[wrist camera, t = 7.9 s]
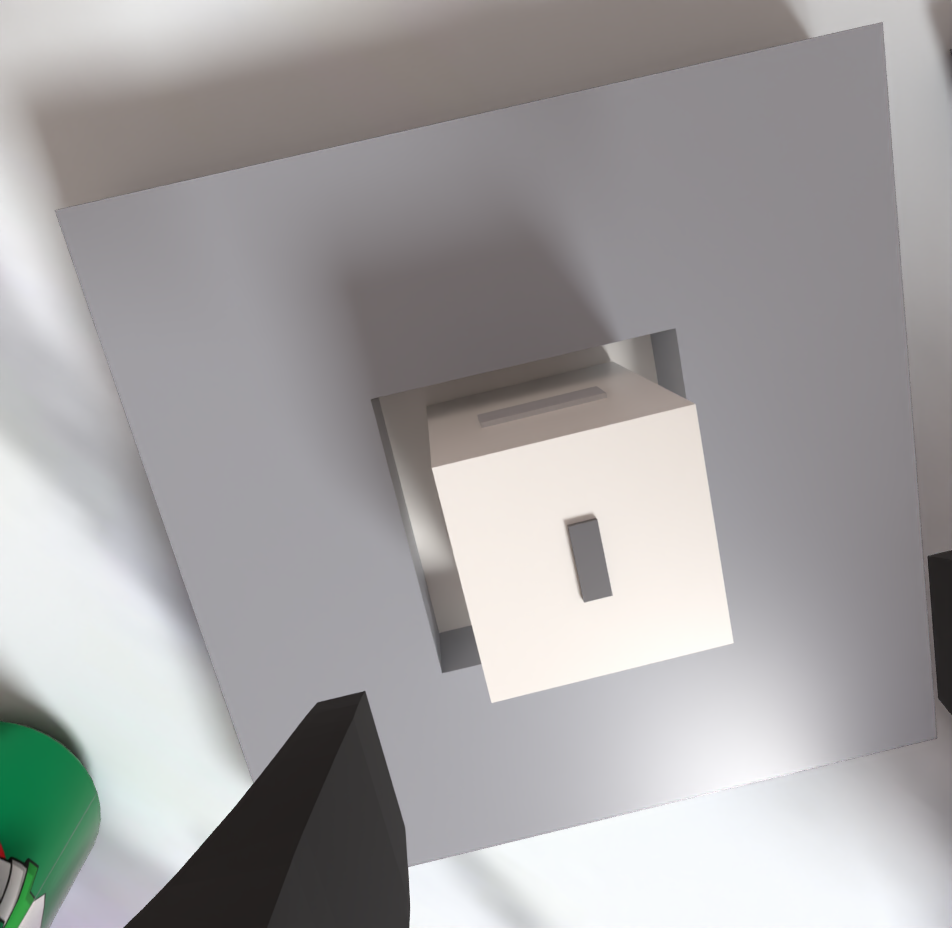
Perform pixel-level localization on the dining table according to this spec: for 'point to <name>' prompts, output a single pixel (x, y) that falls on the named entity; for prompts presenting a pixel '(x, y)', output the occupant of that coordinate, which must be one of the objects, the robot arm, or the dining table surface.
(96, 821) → the soda can
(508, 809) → the socket plate
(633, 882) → the dining table surface
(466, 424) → the brick
